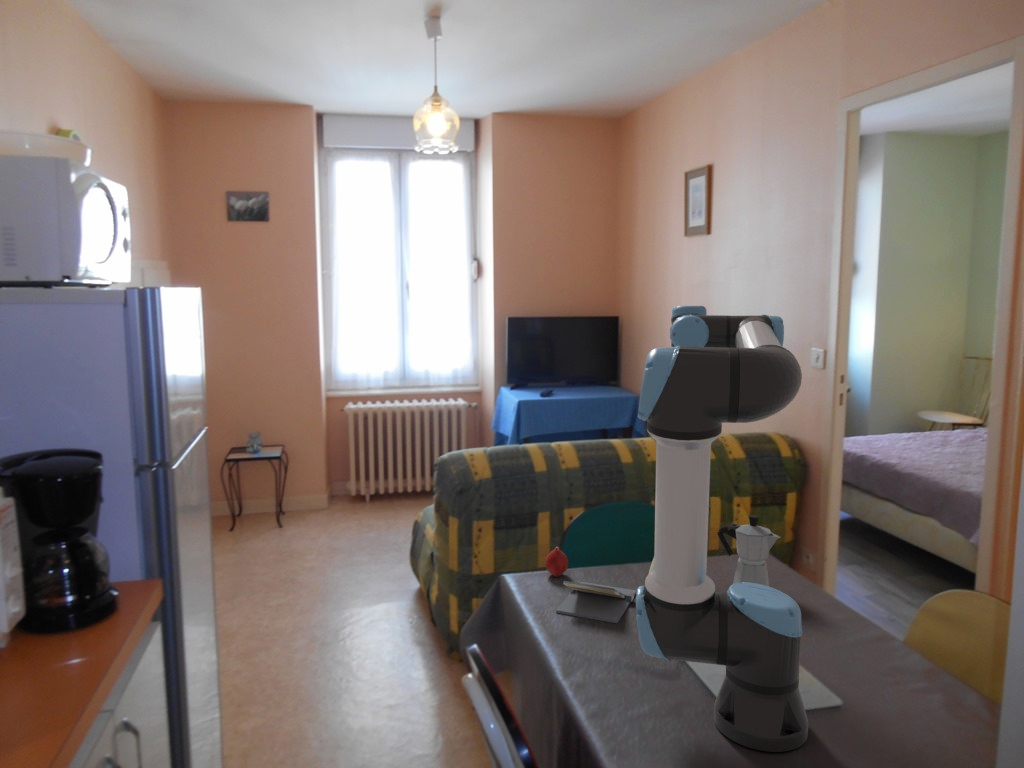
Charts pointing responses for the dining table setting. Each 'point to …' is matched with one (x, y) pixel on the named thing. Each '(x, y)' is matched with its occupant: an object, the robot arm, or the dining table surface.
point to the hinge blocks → (628, 597)
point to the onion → (556, 562)
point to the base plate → (595, 605)
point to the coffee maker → (750, 550)
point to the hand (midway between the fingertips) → (684, 478)
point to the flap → (595, 589)
